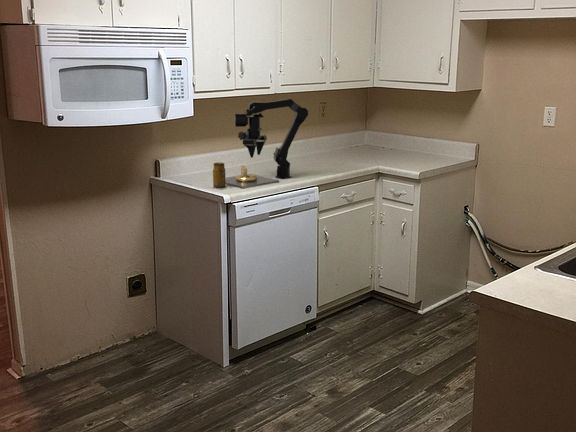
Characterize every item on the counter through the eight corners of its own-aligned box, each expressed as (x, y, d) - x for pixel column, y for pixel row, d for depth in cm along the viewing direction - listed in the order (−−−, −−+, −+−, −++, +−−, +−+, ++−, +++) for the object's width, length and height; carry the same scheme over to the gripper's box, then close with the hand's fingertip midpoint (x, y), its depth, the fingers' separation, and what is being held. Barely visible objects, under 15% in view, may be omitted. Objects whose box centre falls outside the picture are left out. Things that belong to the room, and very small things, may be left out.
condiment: (220, 185, 320) (219, 161, 317) (231, 187, 314) (231, 163, 311) (209, 187, 314) (208, 163, 311) (220, 189, 309) (219, 165, 306)
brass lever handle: (243, 174, 339) (243, 165, 338) (263, 179, 327) (263, 169, 326) (225, 177, 331) (224, 168, 330) (244, 182, 319) (244, 172, 318)
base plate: (250, 175, 344) (250, 173, 343) (279, 182, 326) (279, 179, 326) (213, 181, 328) (213, 179, 328) (242, 188, 311) (242, 186, 311)
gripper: (247, 124, 340) (248, 152, 344) (232, 127, 323) (233, 158, 327) (266, 124, 337) (267, 153, 340) (252, 128, 320) (253, 159, 323)
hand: (255, 156), depth 333 cm, fingers open, 9 cm apart
